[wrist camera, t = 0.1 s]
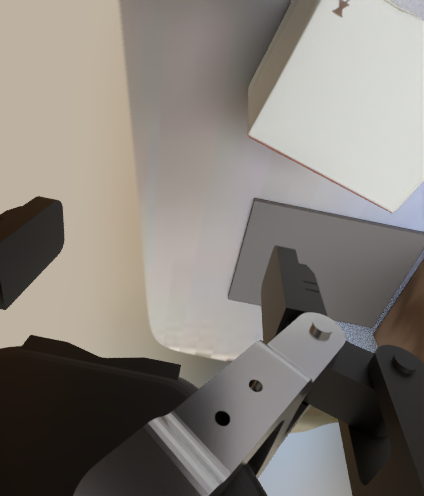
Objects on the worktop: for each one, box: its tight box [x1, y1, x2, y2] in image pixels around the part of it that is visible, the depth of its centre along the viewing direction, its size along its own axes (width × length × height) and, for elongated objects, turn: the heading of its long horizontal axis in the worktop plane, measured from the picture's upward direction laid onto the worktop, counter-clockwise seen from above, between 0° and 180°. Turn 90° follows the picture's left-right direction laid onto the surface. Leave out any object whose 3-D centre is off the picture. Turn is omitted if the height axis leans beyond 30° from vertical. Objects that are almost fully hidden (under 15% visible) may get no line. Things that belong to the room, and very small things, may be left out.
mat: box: [228, 198, 424, 328], centre depth 33 cm, size 12×16×1 cm
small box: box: [248, 0, 424, 213], centre depth 18 cm, size 8×6×13 cm
